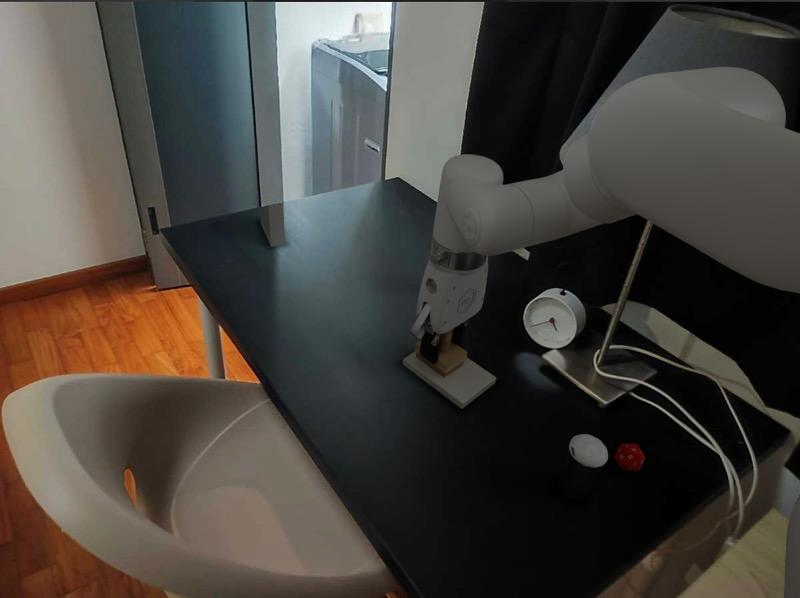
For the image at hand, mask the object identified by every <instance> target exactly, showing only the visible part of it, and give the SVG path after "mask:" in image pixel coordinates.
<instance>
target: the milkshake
mask: <svg viewBox="0 0 800 598" xmlns="http://www.w3.org/2000/svg"><path fill="white" fill-rule="evenodd" d="M608 460H609V452H608V449H607V447H606V445H605V444H604V443H603V441H602V440H601V439H599V438H597V437H595V436H593V435H592V434H589V433H588V434H587V433H582V434H581V433H580V434H577V435H574V436H573V437H572V438H571V439H570V442H569V445H568V448H567V452H566V456H565V460H564V464H563V467H562V471H561V473H560V478H559V480H558V484H557V489H558V493H559V494H560V495H561V496H562V497H563V498H565V499H566V500H568V501H572V502H576V501H579V500H582V499H583V497H584V496H585V494H586V492H587V491H588V490H589V488H590V486H591V485H592V483H593V481H594V480H595V478H596V477H597V476H598V474H599V473H600V471H601V470H602V469H603V467H604V466H605V465H606V463H607V462H608Z"/></svg>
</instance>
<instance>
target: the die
mask: <svg viewBox="0 0 800 598" xmlns="http://www.w3.org/2000/svg"><path fill="white" fill-rule="evenodd" d="M613 459H615V461H616V463H617V464H618V466H619V467H620V468H621V470H622V471H624V472H639V471H641V469H642V466H643V464H644V462H645V460H646V455H645V454H644V453H643V451H642V450H641V448H640V447H639V444H638V443H620V445H619V446H618V449H617V450H616V452H615V454H614V456H613Z"/></svg>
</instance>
